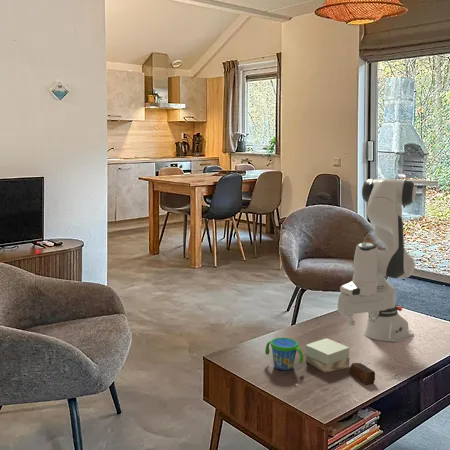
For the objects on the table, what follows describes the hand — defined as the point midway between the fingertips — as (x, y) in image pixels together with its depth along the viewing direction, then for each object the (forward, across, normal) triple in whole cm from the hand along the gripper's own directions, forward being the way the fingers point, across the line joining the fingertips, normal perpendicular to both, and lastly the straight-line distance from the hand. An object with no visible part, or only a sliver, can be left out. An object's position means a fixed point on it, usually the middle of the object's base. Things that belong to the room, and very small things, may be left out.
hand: (362, 323), depth 204 cm
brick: (+21, 0, +2) cm, 21 cm away
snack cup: (+21, +23, -17) cm, 36 cm away
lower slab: (+21, +5, -14) cm, 26 cm away
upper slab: (+17, +6, -14) cm, 22 cm away
